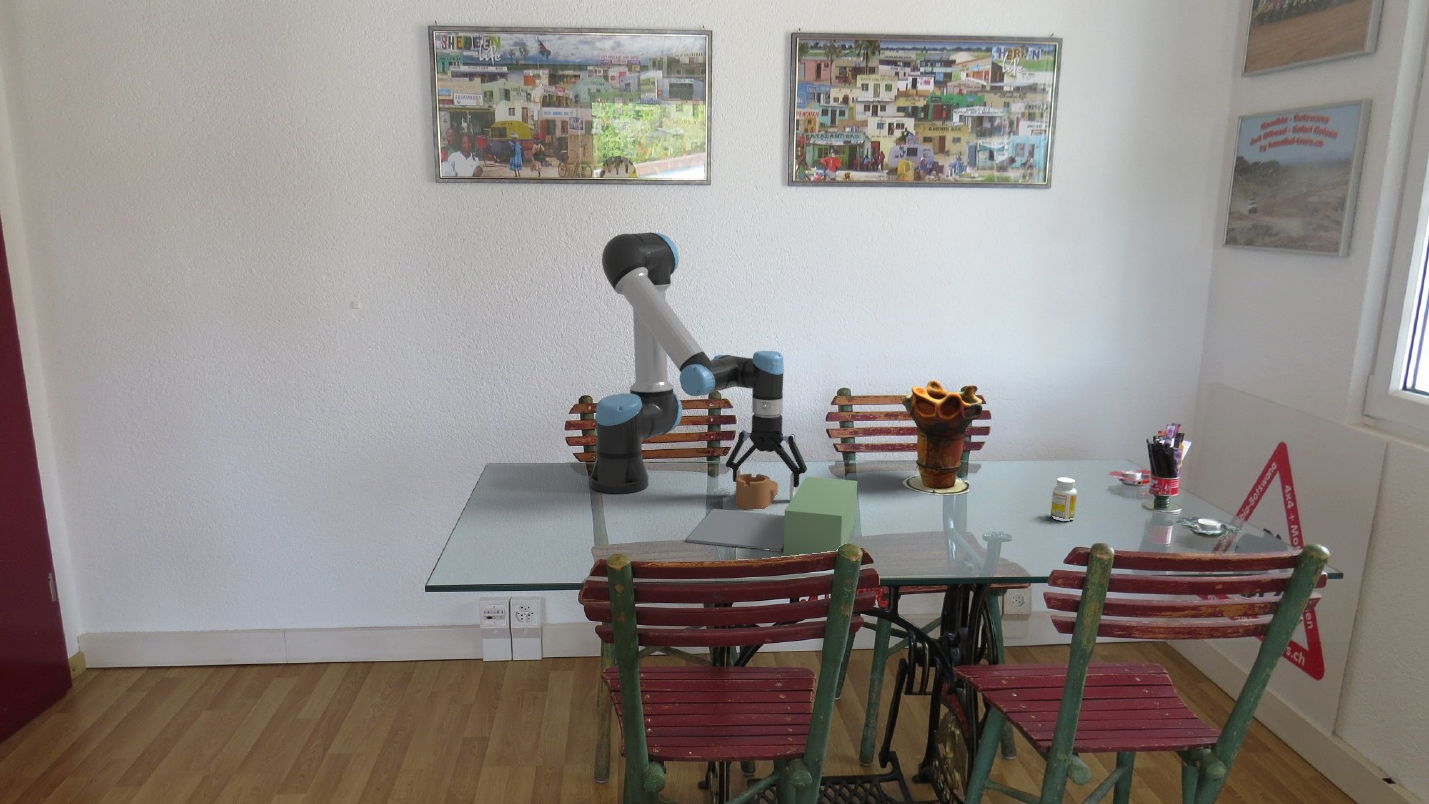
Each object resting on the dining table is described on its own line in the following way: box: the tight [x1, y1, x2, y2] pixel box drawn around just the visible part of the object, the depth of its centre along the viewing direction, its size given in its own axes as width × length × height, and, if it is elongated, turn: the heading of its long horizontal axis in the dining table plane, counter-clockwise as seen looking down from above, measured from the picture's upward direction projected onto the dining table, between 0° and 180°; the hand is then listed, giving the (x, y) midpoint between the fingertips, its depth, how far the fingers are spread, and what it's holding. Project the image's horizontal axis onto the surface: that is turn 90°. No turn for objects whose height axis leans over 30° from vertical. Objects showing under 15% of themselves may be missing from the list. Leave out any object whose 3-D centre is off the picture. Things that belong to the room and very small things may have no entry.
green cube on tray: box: [686, 476, 858, 557], centre depth 216 cm, size 34×26×10 cm
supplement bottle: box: [1050, 477, 1078, 519], centre depth 228 cm, size 5×5×10 cm
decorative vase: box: [901, 379, 983, 496], centre depth 252 cm, size 21×23×28 cm
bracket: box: [735, 473, 779, 510], centre depth 241 cm, size 18×8×7 cm, turn 165°
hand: (765, 496), depth 241 cm, fingers open, 13 cm apart
